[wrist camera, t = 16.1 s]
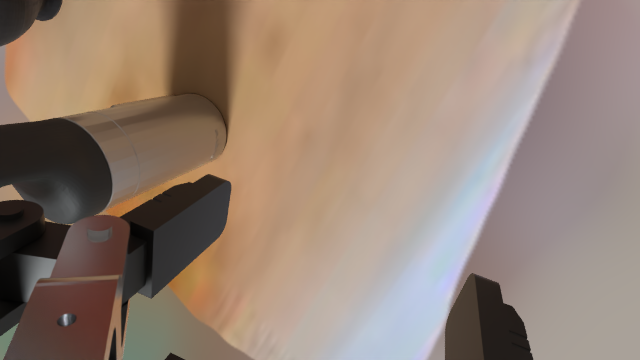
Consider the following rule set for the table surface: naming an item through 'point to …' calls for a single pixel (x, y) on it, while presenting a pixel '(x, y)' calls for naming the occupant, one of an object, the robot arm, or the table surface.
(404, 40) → the table surface
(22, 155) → the robot arm
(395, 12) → the table surface
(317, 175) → the table surface
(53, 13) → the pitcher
